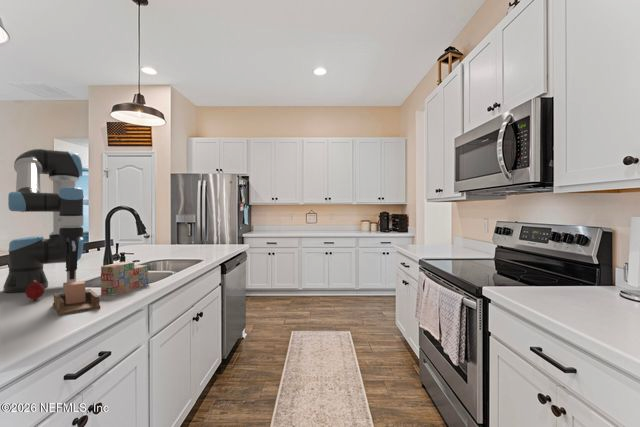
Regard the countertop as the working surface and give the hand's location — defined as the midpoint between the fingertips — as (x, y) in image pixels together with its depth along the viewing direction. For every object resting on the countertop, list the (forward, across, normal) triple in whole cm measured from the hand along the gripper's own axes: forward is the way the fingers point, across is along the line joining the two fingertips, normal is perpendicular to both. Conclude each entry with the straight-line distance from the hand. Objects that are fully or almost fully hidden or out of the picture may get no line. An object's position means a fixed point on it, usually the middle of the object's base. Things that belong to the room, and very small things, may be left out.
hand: (71, 287), depth 130 cm
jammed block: (+4, +6, 0) cm, 8 cm away
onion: (+6, -12, -10) cm, 17 cm away
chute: (+6, +10, 0) cm, 12 cm away
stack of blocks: (+6, -9, +21) cm, 24 cm away
